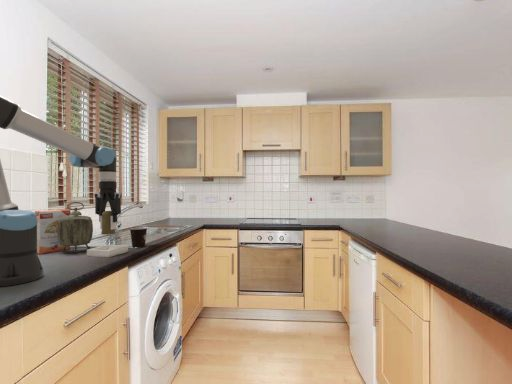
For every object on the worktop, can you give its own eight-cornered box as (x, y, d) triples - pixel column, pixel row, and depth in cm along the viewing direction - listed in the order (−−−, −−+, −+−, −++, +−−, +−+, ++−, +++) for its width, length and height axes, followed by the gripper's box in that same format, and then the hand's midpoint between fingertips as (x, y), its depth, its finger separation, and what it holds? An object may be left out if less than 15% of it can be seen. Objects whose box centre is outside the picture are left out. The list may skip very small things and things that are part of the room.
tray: (108, 257, 127) (108, 250, 127) (86, 256, 129) (86, 249, 129) (128, 251, 139) (128, 245, 139) (107, 250, 142) (107, 244, 142)
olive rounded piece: (109, 234, 131) (109, 211, 131) (98, 234, 132) (98, 211, 132) (118, 232, 137) (117, 210, 137) (107, 232, 138) (107, 210, 138)
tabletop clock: (93, 248, 146) (92, 201, 146) (92, 252, 138) (91, 202, 138) (59, 251, 139) (59, 202, 139) (56, 255, 131) (56, 202, 131)
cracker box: (39, 254, 133) (39, 211, 133) (33, 253, 136) (33, 210, 136) (71, 249, 145) (70, 209, 145) (65, 248, 148) (64, 209, 148)
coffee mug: (139, 244, 157) (139, 227, 157) (150, 245, 153) (150, 227, 153) (121, 248, 147) (121, 229, 147) (133, 249, 143) (132, 230, 143)
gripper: (129, 180, 136) (129, 228, 136) (98, 181, 140) (98, 227, 140) (118, 180, 129) (118, 230, 129) (85, 181, 133) (86, 229, 133)
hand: (108, 228), depth 134 cm, fingers closed on olive rounded piece, 5 cm apart
